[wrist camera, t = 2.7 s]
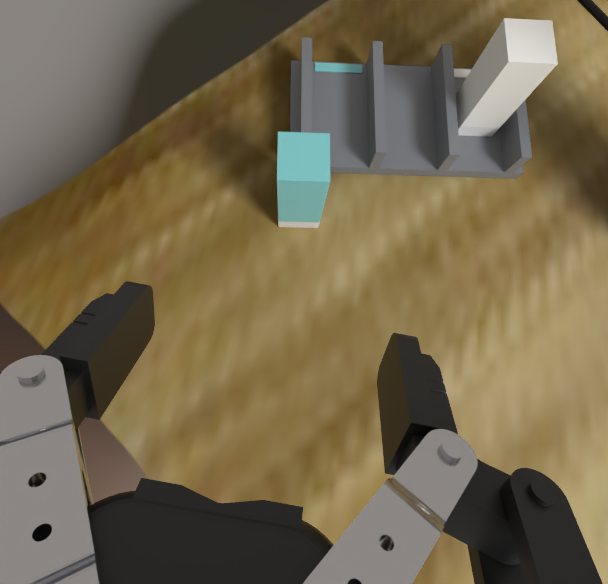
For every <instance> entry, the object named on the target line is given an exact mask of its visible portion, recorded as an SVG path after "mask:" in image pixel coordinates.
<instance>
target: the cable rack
mask: <svg viewBox="0 0 608 584" xmlns="http://www.w3.org/2000/svg"><path fill="white" fill-rule="evenodd" d="M471 70H472V69H468V68H454V65H453V52H452V45H448V44H442V46H441V48H440V50H439V52H438V54H437V56H436V58H435V60H434V62H433V64H432V66H431V67H425V66H403V65H383V41H372V45H371V49H370V52H369V56H368V60H367V63H366V64H359V63H337V62H315V61H312V38H304V37H302V45H301V61H293V60H291V95H290V132H303V133H330V173H357V174H388V175H420V176H452V177H483V178H515V179H517V178H518V177H519V176H520V175H522V174H523V165H524V164H525V163H526V162H527V161H529V160H530V159H531V158H532V151H531V142H530V133H529V124H528V115H527V106H526V99H525V101H524V102H523V103H522V104H521V105H520V106H519V107H518V108H517V109H516V110H515V112H514V113H513V114H512V115H511V116H510V117H509V118H508V119H507V120H506V121H505V123H504V124H503V125H502V126H501V127H500V128H499V129H498V130H497V131H496V132H495V134H494V135H493V136H492V137H489V136H462V135H459V134H458V120H457V106H456V93H457V92H458V90H459V88H460V87H461V85H462V84H463V82H464V81H465V79H466V77H467V76H468V74H469V73H470V71H471Z"/></svg>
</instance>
